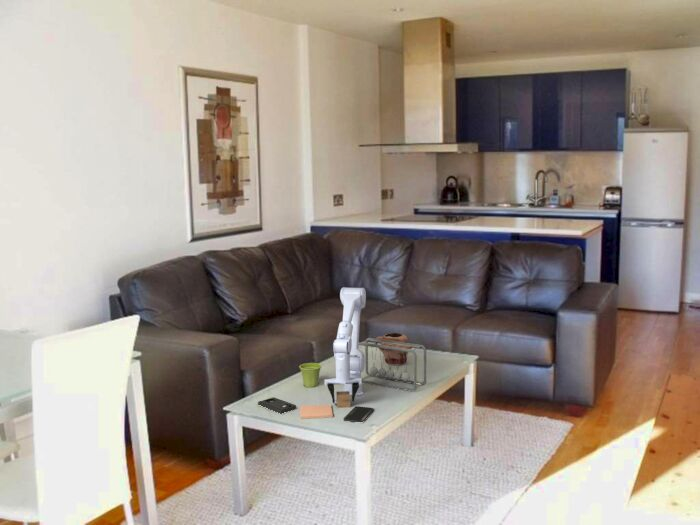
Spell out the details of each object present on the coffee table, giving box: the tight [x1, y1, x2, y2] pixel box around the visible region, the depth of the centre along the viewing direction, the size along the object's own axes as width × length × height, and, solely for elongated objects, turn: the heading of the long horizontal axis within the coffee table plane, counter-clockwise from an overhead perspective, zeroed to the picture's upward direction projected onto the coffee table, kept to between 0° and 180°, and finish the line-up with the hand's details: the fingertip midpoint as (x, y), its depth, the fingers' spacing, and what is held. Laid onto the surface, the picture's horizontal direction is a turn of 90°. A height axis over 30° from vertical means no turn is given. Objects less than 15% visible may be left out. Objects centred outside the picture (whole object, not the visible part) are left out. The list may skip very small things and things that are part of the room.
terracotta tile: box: [300, 404, 334, 420], centre depth 279 cm, size 12×12×1 cm
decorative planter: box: [374, 332, 413, 366], centre depth 344 cm, size 20×12×14 cm, turn 62°
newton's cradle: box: [353, 337, 427, 391], centre depth 313 cm, size 30×10×18 cm, turn 58°
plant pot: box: [298, 362, 322, 388], centre depth 312 cm, size 9×9×9 cm
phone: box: [343, 405, 375, 423], centre depth 275 cm, size 8×1×15 cm
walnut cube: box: [335, 390, 351, 409], centre depth 286 cm, size 5×5×5 cm
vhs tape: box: [257, 396, 297, 415], centre depth 285 cm, size 14×8×2 cm, turn 45°
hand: (343, 401), depth 286 cm, fingers open, 7 cm apart
